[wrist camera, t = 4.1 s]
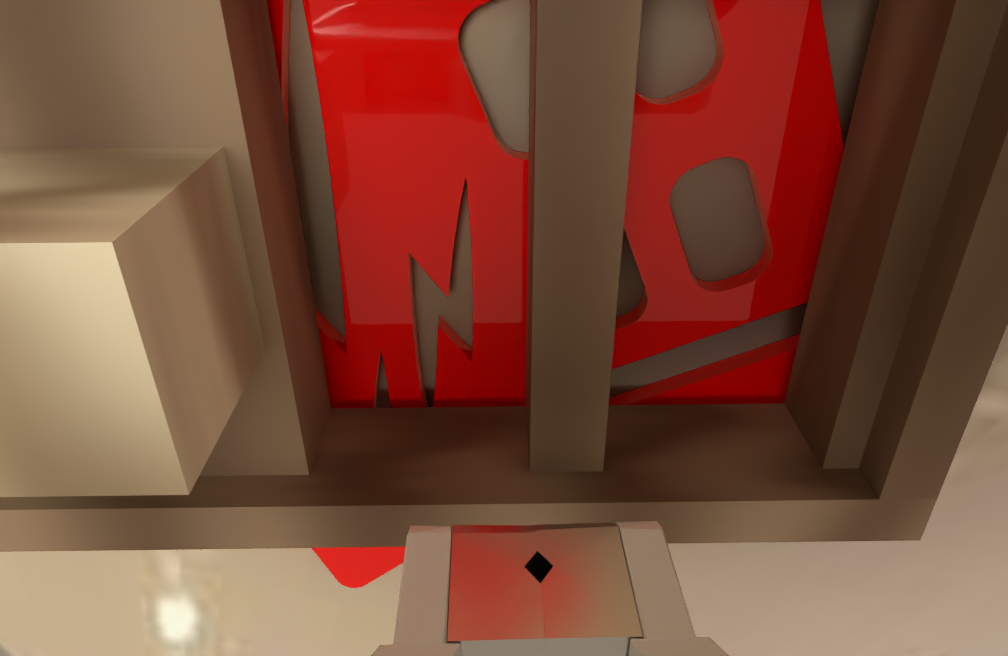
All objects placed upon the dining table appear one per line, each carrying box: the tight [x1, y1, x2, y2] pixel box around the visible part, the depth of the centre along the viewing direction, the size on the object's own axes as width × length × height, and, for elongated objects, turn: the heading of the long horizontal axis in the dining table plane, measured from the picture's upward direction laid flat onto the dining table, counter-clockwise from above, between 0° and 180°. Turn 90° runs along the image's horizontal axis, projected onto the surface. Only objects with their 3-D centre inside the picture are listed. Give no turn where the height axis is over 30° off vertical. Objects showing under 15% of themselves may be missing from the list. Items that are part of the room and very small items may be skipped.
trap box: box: [0, 0, 1008, 552], centre depth 17 cm, size 29×16×4 cm, turn 90°
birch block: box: [0, 147, 265, 497], centre depth 14 cm, size 5×5×5 cm
